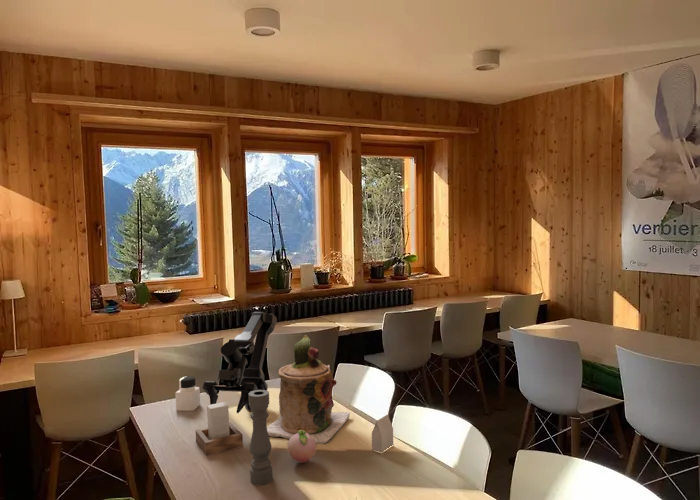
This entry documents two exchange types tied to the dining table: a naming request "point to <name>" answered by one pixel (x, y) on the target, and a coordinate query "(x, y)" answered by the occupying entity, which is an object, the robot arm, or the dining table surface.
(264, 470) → the candle holder
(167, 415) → the dining table surface
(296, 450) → the decorative fruit
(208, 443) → the walnut holder
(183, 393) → the medicine bottle
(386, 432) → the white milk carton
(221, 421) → the skincare box
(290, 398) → the cookie jar
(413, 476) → the dining table surface
